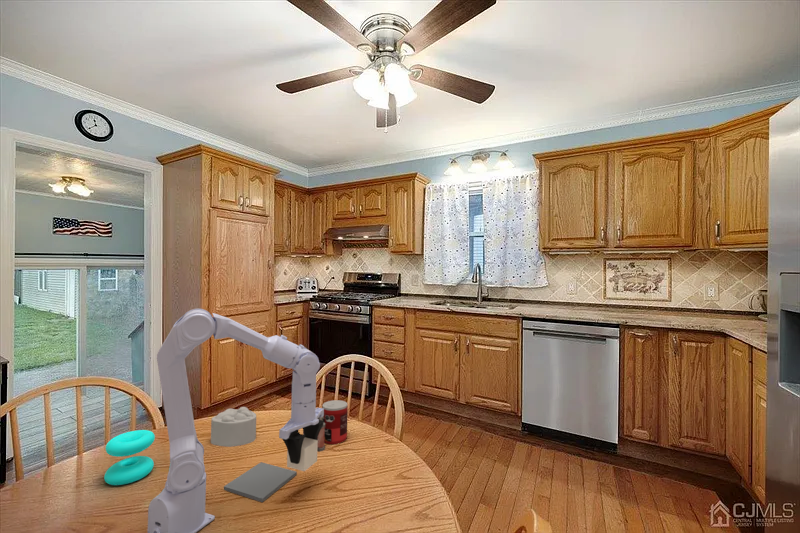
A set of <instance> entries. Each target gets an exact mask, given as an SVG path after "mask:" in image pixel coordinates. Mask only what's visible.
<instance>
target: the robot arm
mask: <svg viewBox="0 0 800 533" xmlns="http://www.w3.org/2000/svg"><path fill="white" fill-rule="evenodd" d="M212 336H213V338H214V340H218V339H219V340H221V339H225V338H230V339H232V340H236V341H237V342H240V343H242V344H245V345H248V346H250V347H252V348H255V349H258V350H259V351H261V354H262V356H263V357H262V358H264V359H265V360H268V361H269V362H272V363H275V364H276V365H279V366H281V367H284V368H285V369H292V380H291V407H290V408H291V412H290V418H289V420H288V421H287V422H286V423H285V424H284V425H283V427H281V428H280V429H279V431H278V437H279V439H281V440H282V441H283V443H284V444H285V446H286V450H288V453H289V457H290V461H291V463H295V464H298V463H299V462H300V457H301V448H302V444H303V440H304V438H310V439H314V440H317V438H318V435H319V432H320V430H321V428H322V426H323V421H322V420H319V417H323V416H324V409H323V408H322V407H316V406H317V373H318V371H320V367H321V362H320V360H319V357H318V355H316V353H314V352H313V351H311V350H309V349H308V348H307V347H305V346H304V345H303V344H299V345H298V344H296V343H294V342H292V341H289V340H287V339H288V337H287V336H285V335H283V334H281V335H280V336H279V335H278V334H276V335H272V336H266V335H264V334H261V333H260V332H257V331H255V330H254V329H252V328H249V327H248V326H246V325H244V324H241V323H240V322H237V321H236V320H234V319H233V318H229V317H227V316H223V315H220V314H218V313H215V312H214V313H213V312H212V314H211V313H210V312H209V311H208V310H206V309H203V308H193V309H190V310H188V311H186V312H185V314H183V315H182V316H181V317H180V318H178V320H176V322H175V323H174V324H173V326H172V328H171V329H170V331H169V333H168V335H167V336H166V338H165V340H164V341H163V343H162V344H161V346H160V347H159V350H158V351H157V354H156V362H157V367H158V375H159V381H160V387H161V395H162V402H163V409H164V414H165V421H166V427H167V436H168V442H169V466H168V467H169V469H168V472H167V477H166V481H165V484H164V488H163V489H162V491H160V493H159V494H157V495H156V496H155V497H153V499H152V500H151V501H150V502H149V503H148V504H149V505H148V508H147V533H197V532H199V531H200V530H202V529H203V528H205V527H206V526H208V524H210V523H212V521H214V520H215V519H216V518H215V517H216V515H213V514H210V513H208V512H206V494H207V473H206V467H205V464H204V462H205V461H204V455H205V447H204V445H203V444H202V443H201V442H200V440H199V439H198V435H197V431H196V428H195V426H196V425H195V419H194V414H193V406H192V400H191V392H190V386H189V378H188V373H187V366H186V358H187V357H188V356H189V355H190V353H192V352H193V350H194V349H195V348H196V347H198V346H200V345H202V344H203V343H205V342H206V341H208V340H209V339H210V338H211V337H212ZM301 429H302V434H301V433H300V431H299V430H301ZM303 432H304V435H303Z"/></svg>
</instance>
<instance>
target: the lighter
mask: <svg viewBox="0 0 800 533" xmlns="http://www.w3.org/2000/svg"><path fill="white" fill-rule="evenodd" d="M319 420H323V417H319ZM302 434H303V435H304V432H303V431H302ZM324 434H325V423H324V422H323V426H322V428H321V430H320V432H319V435H318V438H317V440H318V445H317V452H323V451H324V450H326V446H325V442H324Z"/></svg>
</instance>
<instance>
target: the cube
mask: <svg viewBox="0 0 800 533" xmlns="http://www.w3.org/2000/svg"><path fill="white" fill-rule="evenodd" d="M317 445H318V440H314V439H310V438H304V440H303V444H302V448H301V457H300V462H299V463H298V464H295V463H291V461H290V457H289V453H288V450H287V449H286V450H287V452H286V453H287V454H286V456H287V457H286V468H290V469H294V470H296V471H297V470H298V471H302V472H306V471H307V470H308V469H309V468H310V467H312V466H313V465H314V464H316V463H317V461H318V451H317Z"/></svg>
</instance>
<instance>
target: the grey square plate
mask: <svg viewBox="0 0 800 533" xmlns="http://www.w3.org/2000/svg"><path fill="white" fill-rule="evenodd" d="M297 474H298V473H297V470H292V469H288V468H286V467H281V466H277V465H274V464H270V463H267V462H262V461H261V462H259V463H258V464H255V465H254V466H253V467H251V468H250V469H249V470H246V471H245V472H244V473H242V474H241V475H239V476H237V477H236V478H234V479H233V480H230V482H228V483H226V484H225V485H224V486H223V490H224V491H227V492H230V493H232V494H235V495H239V496H242V497H245V498H248V499H250V500H254V501H257V502H261V503H264V502H265V501H267V499H269V498H270V497H271V496H272V495H274V494H275V493H276V492H277V491H279V490H280V489H281V488H282V487H283V486H285V485H286V484H287V483H288V482H290V481H291V480H292V479H294V478H295V477H296V476H297Z"/></svg>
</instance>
